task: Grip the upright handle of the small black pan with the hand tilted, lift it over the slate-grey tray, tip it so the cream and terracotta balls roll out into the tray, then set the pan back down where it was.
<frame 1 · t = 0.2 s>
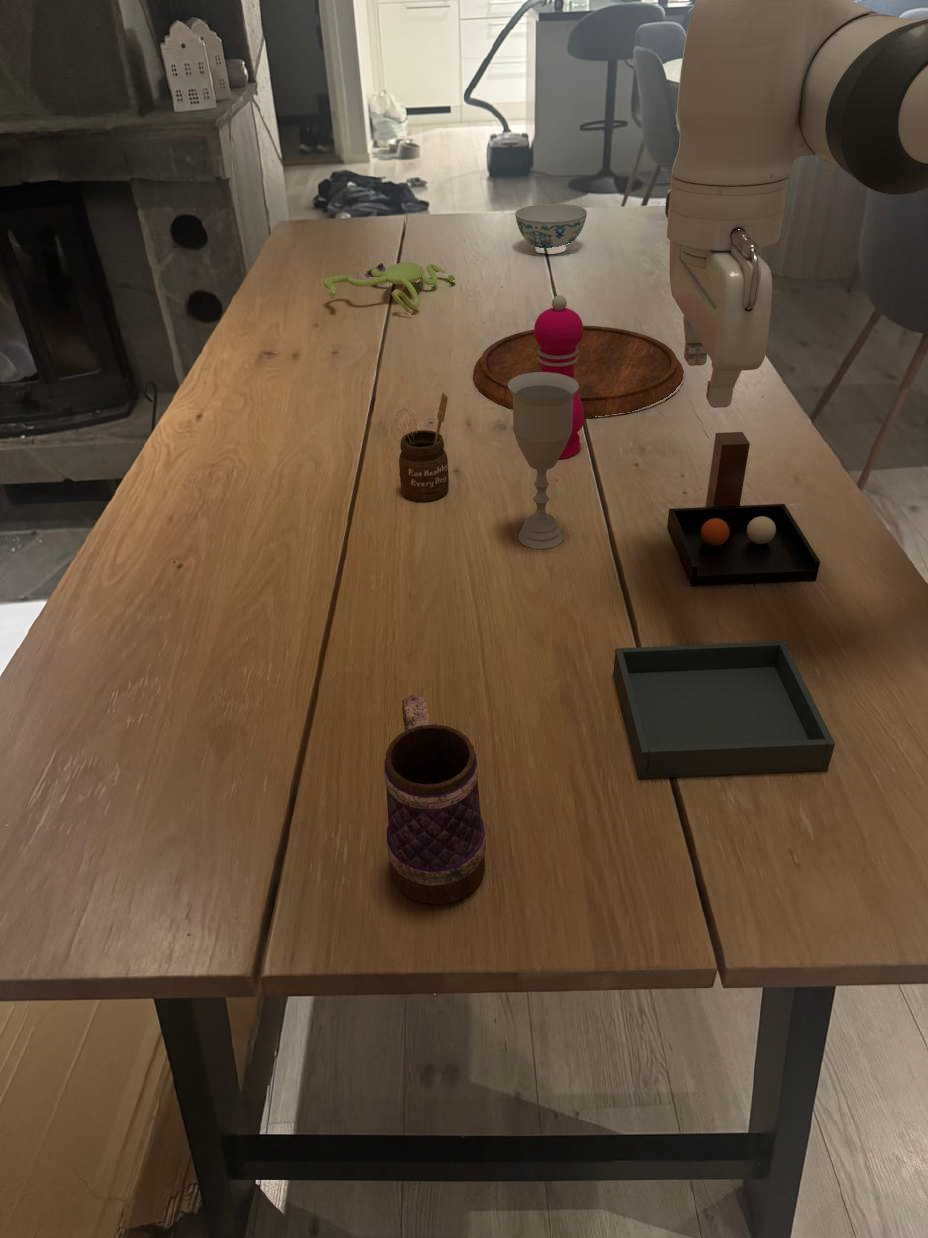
hand: (705, 382, 81), 23 cm above the table, tool pointing down, fingers open, 8 cm apart
pepper mill: (555, 450, 122), on the table
figurine: (392, 298, 176), on the table
pan: (737, 552, 101), on the table, touching ball a, ball b
ball a: (761, 530, 100), point 2 cm above the table, touching pan
ball b: (715, 532, 100), point 2 cm above the table, touching pan
cutting board: (577, 375, 142), on the table
tray: (713, 719, 80), on the table
chalice: (540, 538, 105), on the table
utensil holder: (426, 492, 114), on the table
chinaware: (550, 251, 199), on the table
mug: (435, 853, 69), on the table
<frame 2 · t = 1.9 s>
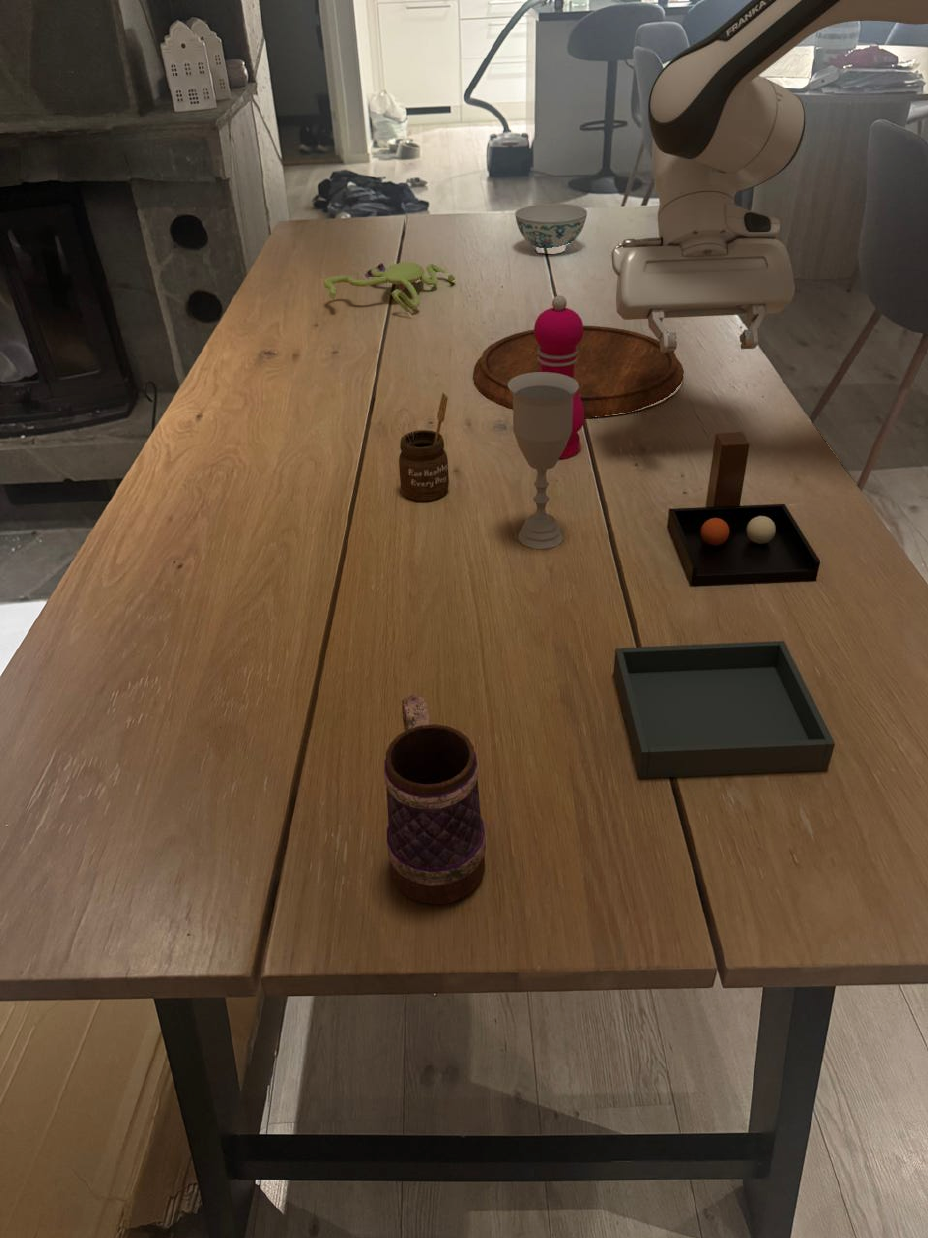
hand: (709, 349, 107), 16 cm above the table, tool tilted 45°, fingers open, 8 cm apart
nothing on the table moved.
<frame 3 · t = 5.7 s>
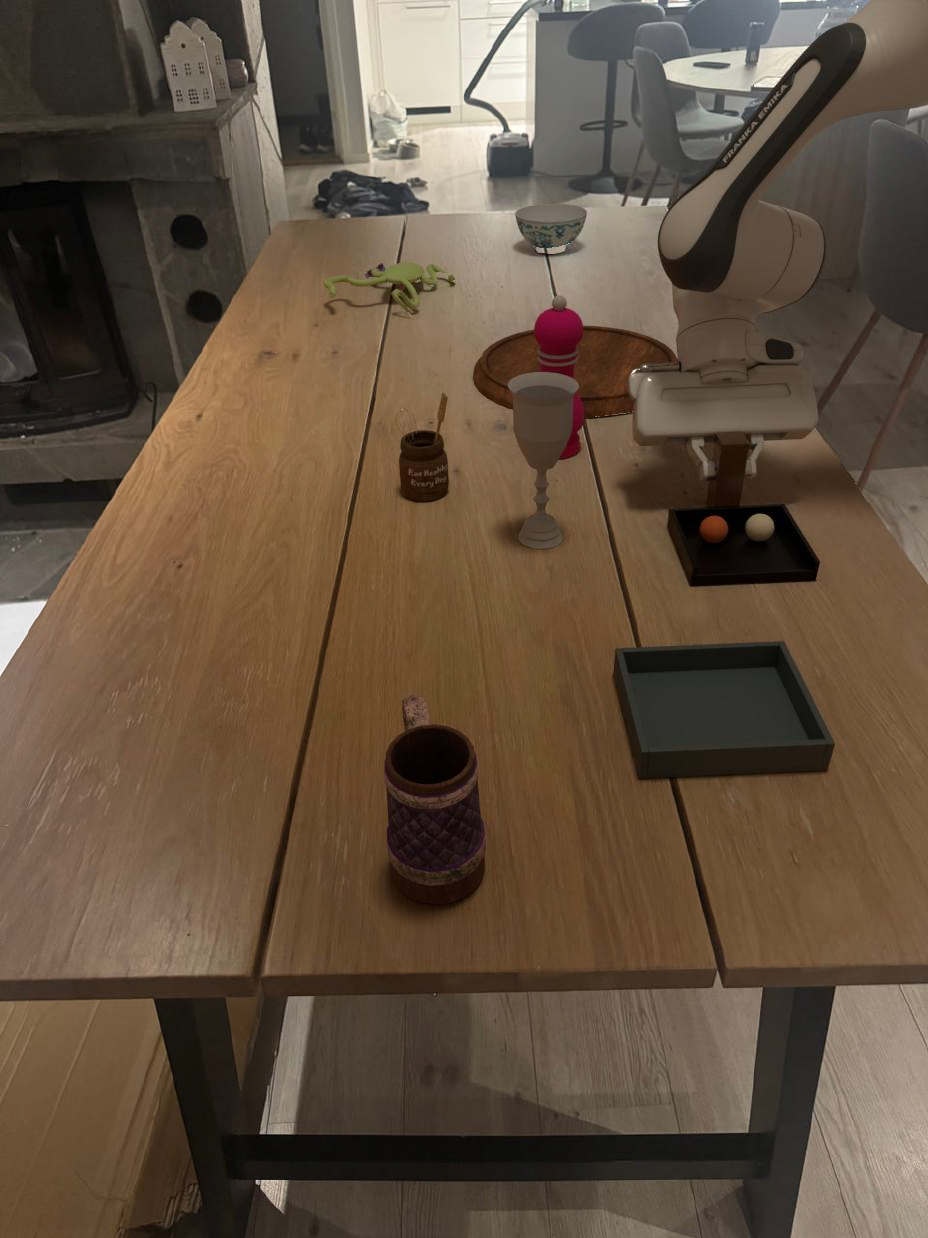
hand: (728, 478, 103), 5 cm above the table, tool tilted 45°, fingers closed on pan, 3 cm apart
pan: (737, 552, 101), on the table, touching ball a, ball b, gripper
ball a: (759, 527, 101), point 2 cm above the table, tilted 22°, touching pan
ball b: (713, 529, 101), point 2 cm above the table, tilted 22°, touching pan
everything else where it was.
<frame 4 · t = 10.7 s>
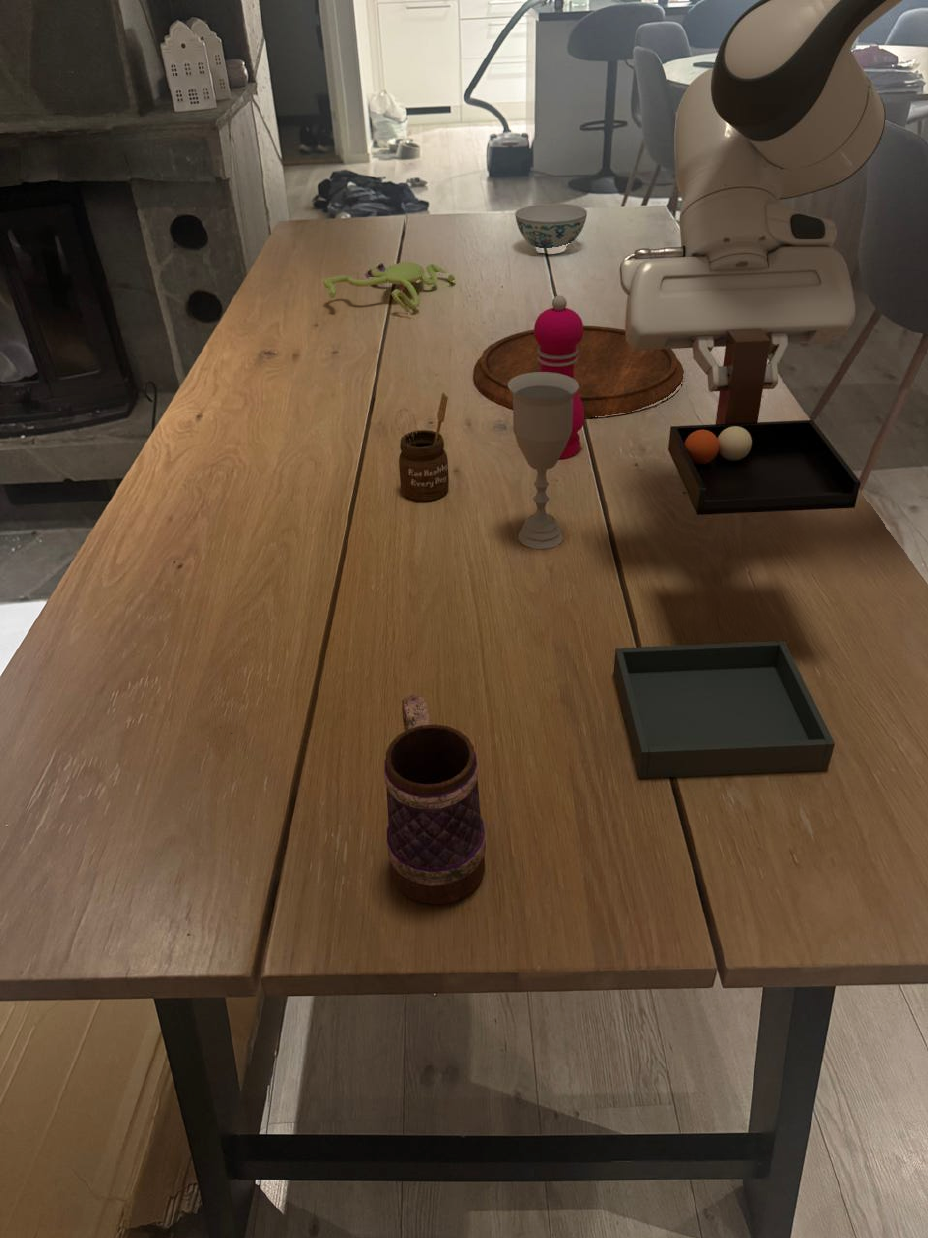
hand: (743, 387, 83), 21 cm above the table, tool tilted 45°, fingers closed on pan, 3 cm apart
pan: (755, 477, 81), point 16 cm above the table, touching ball a, ball b, gripper
ball a: (734, 443, 82), point 18 cm above the table, tilted 149°, touching ball b, pan
ball b: (701, 447, 81), point 18 cm above the table, tilted 84°, touching ball a, pan
everything else where it was.
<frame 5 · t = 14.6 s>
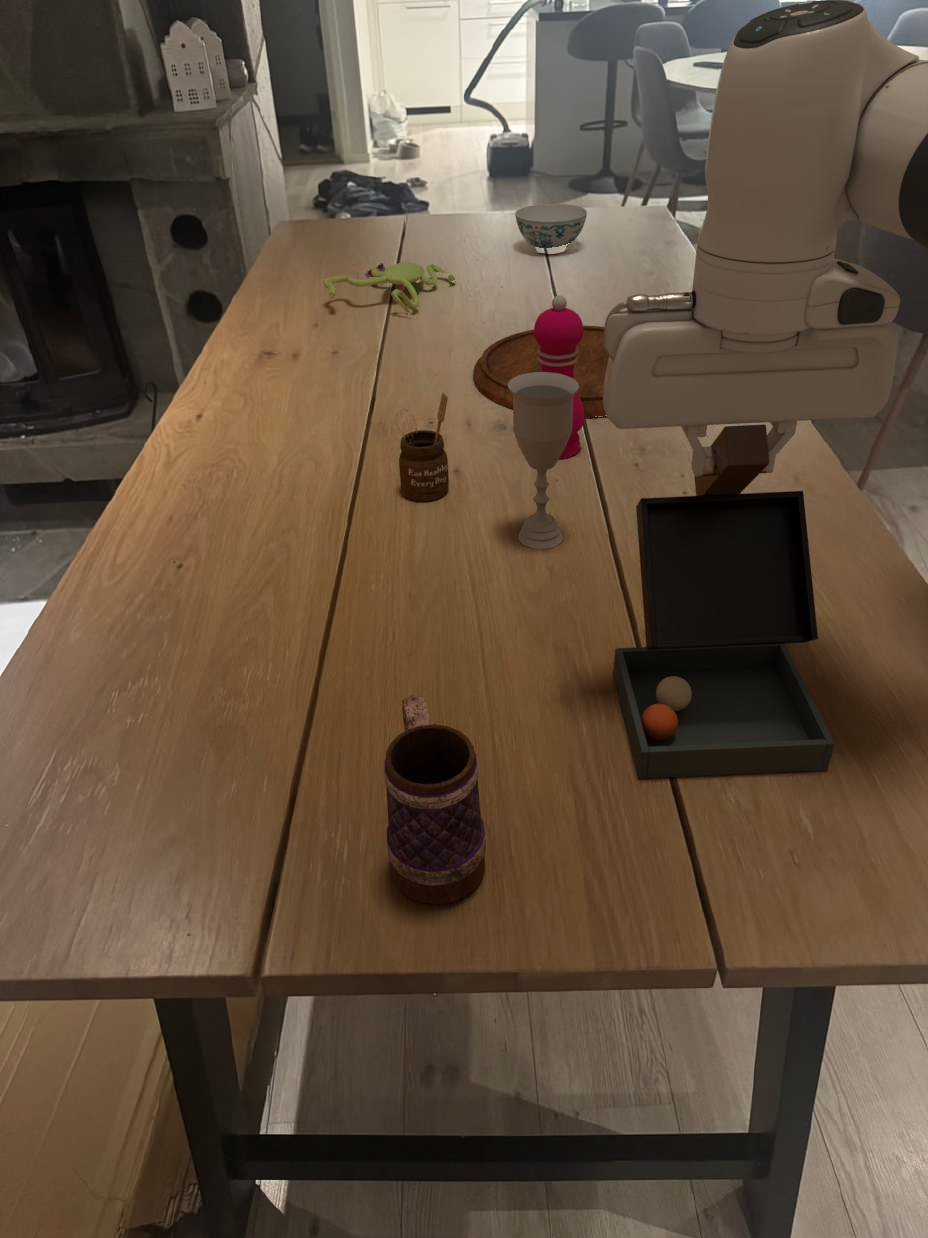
hand: (731, 471, 71), 21 cm above the table, tool pointing down, fingers closed on pan, 3 cm apart
pan: (720, 573, 76), point 12 cm above the table, tilted 45°, touching gripper
ball a: (673, 693, 79), point 2 cm above the table, tilted 121°, touching tray
ball b: (659, 721, 77), point 2 cm above the table, tilted 74°, touching tray
everything else where it was.
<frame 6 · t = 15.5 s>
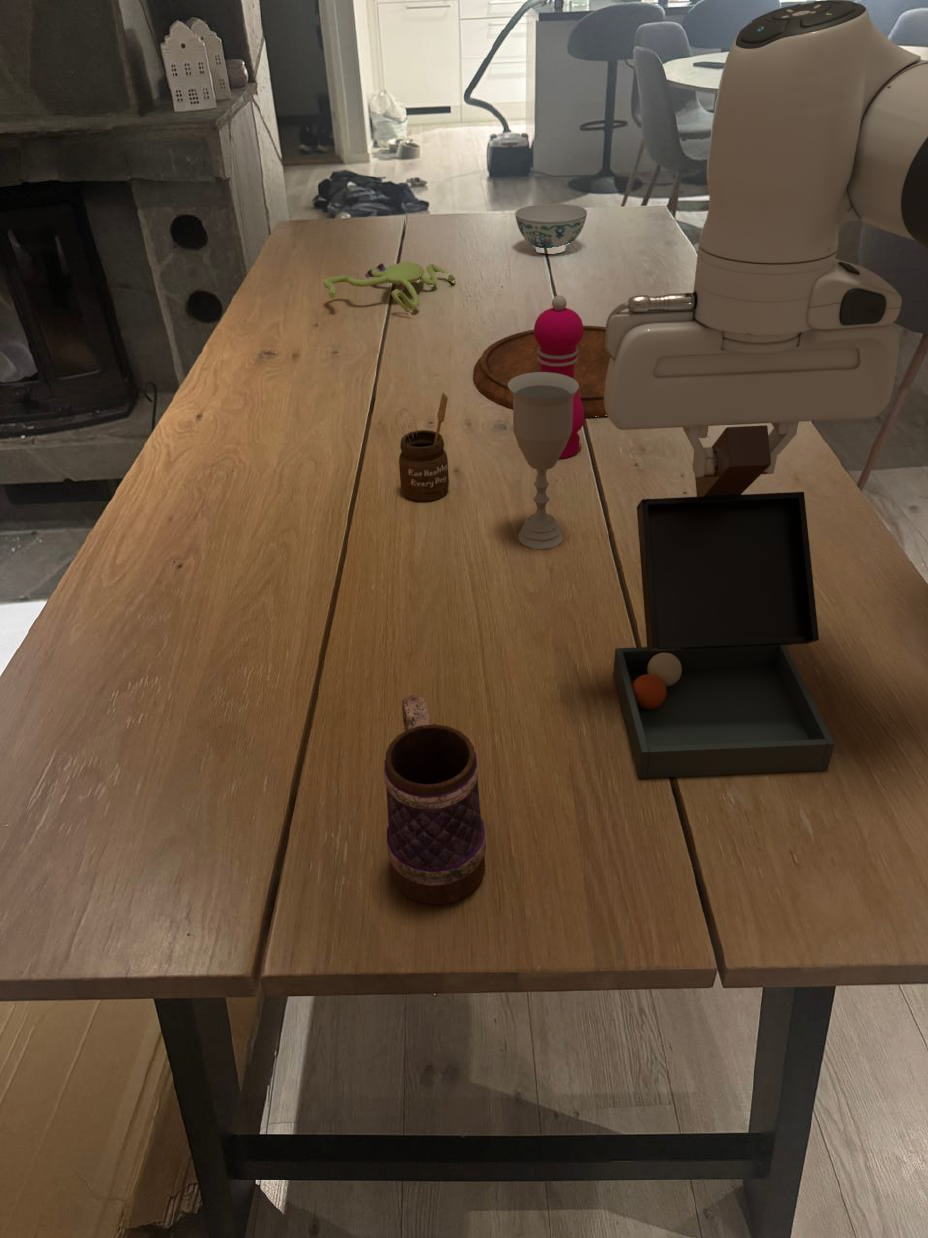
hand: (732, 472, 71), 21 cm above the table, tool pointing down, fingers closed on pan, 3 cm apart
pan: (721, 574, 76), point 12 cm above the table, tilted 45°, touching gripper
ball a: (664, 669, 82), point 2 cm above the table, tilted 48°, touching tray
ball b: (648, 691, 80), point 2 cm above the table, tilted 80°, touching tray
everything else where it was.
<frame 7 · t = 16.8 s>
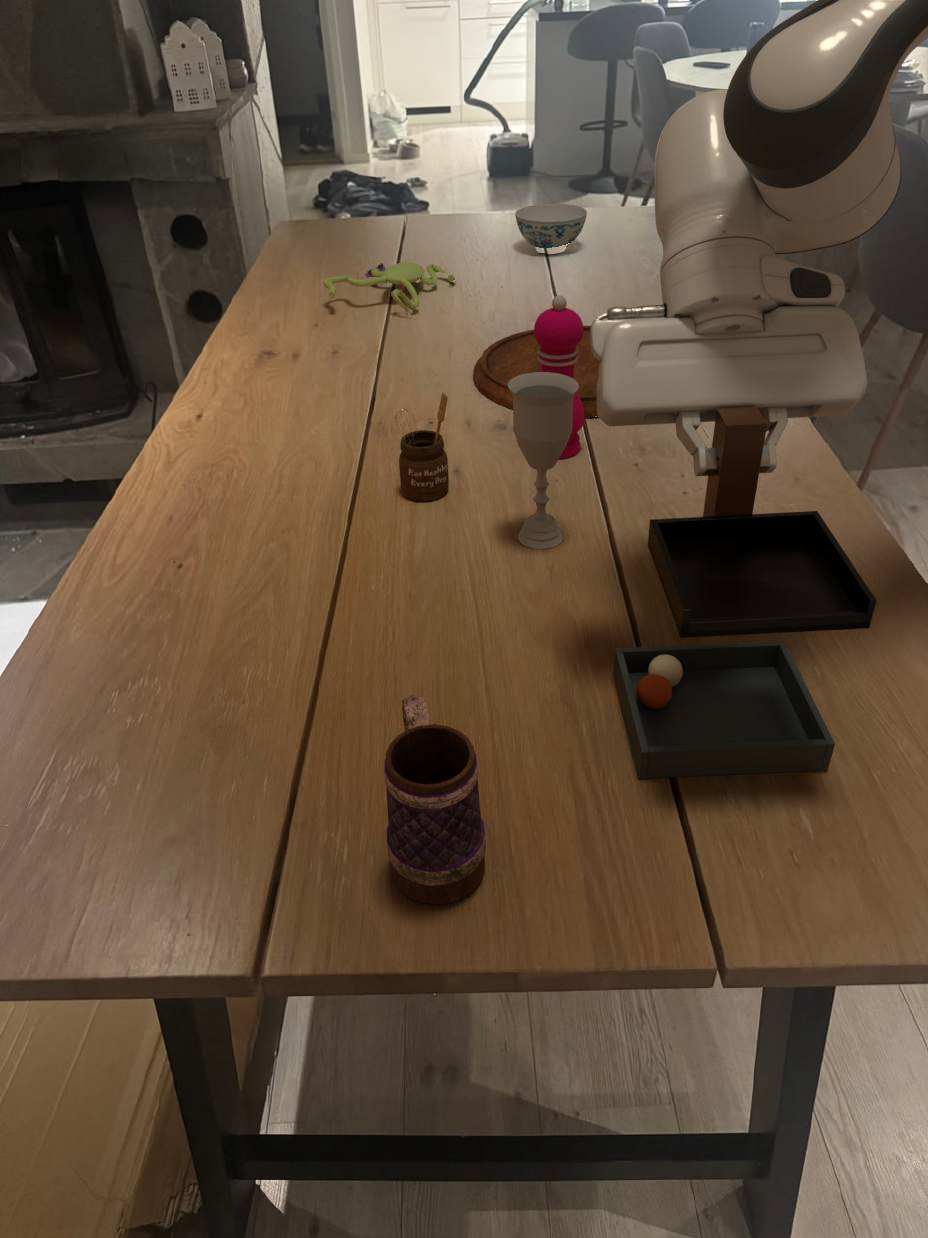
hand: (735, 472, 71), 21 cm above the table, tool tilted 45°, fingers closed on pan, 3 cm apart
pan: (750, 584, 68), point 16 cm above the table, touching gripper
ball b: (654, 691, 80), point 2 cm above the table, tilted 74°, touching tray
everything else where it was.
when the fingers open (5 cm above the table, at t = 25.1 s): pan stays where it is, on the table.
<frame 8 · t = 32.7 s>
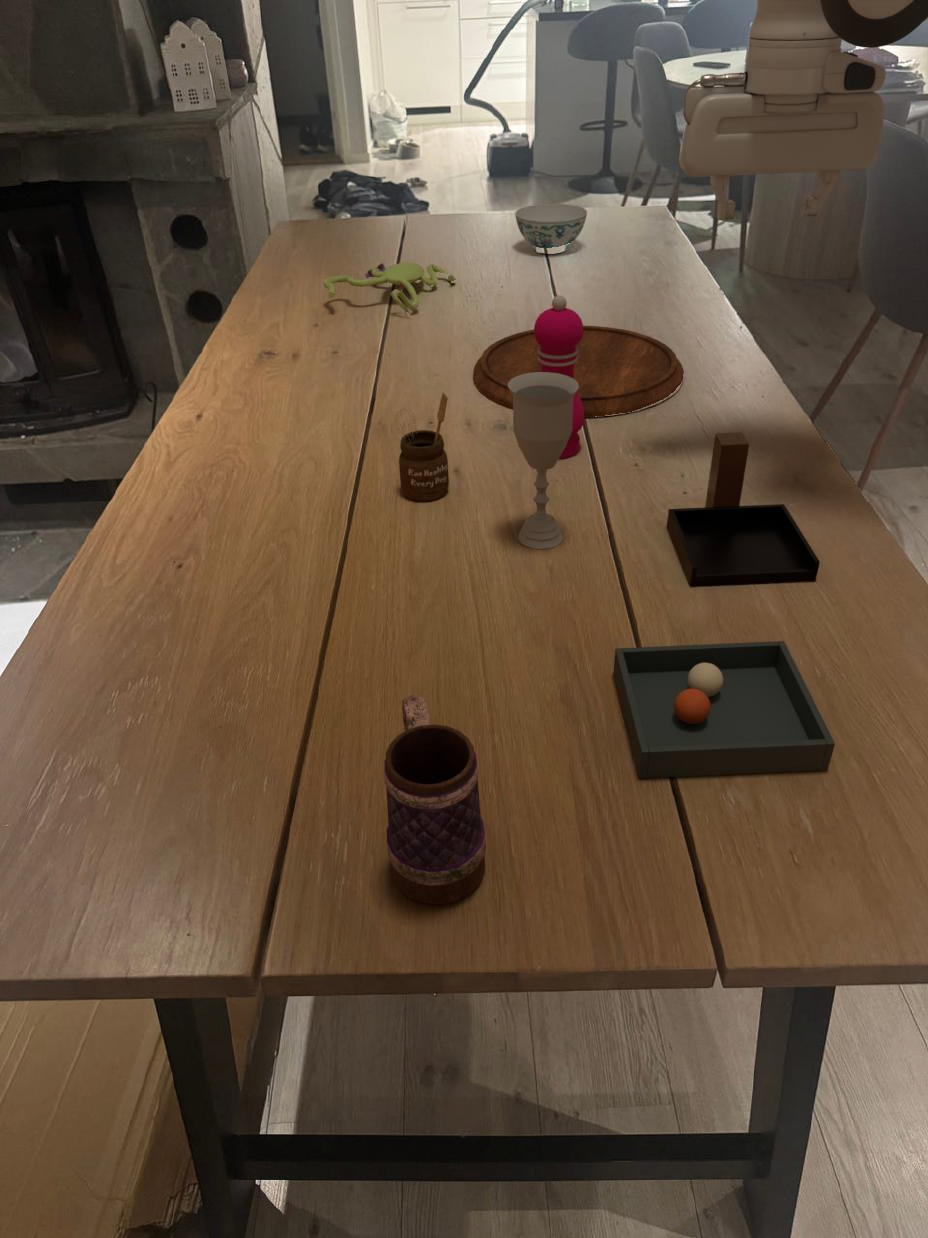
hand: (768, 216, 101), 29 cm above the table, tool pointing down, fingers open, 8 cm apart
pan: (737, 553, 100), on the table
ball a: (705, 679, 81), point 2 cm above the table, tilted 91°, touching tray
ball b: (692, 706, 78), point 2 cm above the table, tilted 69°, touching tray
everything else where it was.
at the end: ball a inside the target area in the tray (2.9 cm from its centre), point 2.0 cm above the tray's base; ball b inside the target area in the tray (2.3 cm from its centre), point 2.0 cm above the tray's base; pan tilted 0° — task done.
